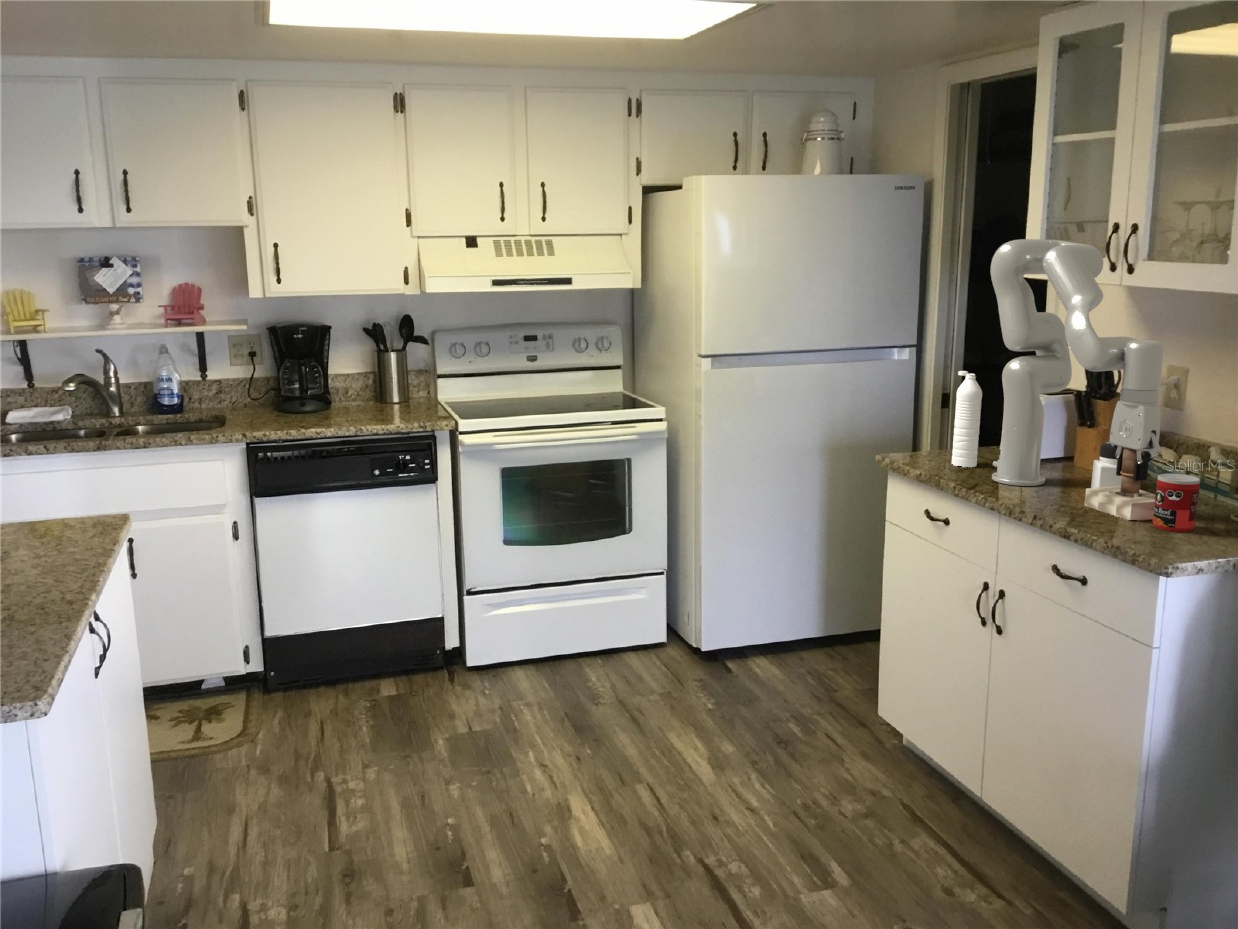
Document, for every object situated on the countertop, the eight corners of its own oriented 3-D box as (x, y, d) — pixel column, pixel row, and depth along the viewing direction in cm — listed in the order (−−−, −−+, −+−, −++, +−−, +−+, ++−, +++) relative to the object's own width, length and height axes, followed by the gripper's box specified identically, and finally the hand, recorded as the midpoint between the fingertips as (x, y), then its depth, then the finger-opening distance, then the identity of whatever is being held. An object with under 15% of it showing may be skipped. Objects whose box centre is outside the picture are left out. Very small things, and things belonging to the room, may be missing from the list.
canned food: (1144, 523, 222) (1150, 473, 220) (1180, 522, 223) (1186, 472, 221) (1165, 533, 215) (1171, 481, 213) (1202, 532, 216) (1208, 481, 213)
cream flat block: (1084, 505, 237) (1086, 488, 236) (1123, 502, 240) (1125, 485, 239) (1129, 521, 224) (1131, 503, 223) (1170, 517, 227) (1172, 499, 226)
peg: (1114, 490, 232) (1118, 446, 230) (1130, 488, 233) (1134, 445, 231) (1129, 494, 228) (1133, 450, 226) (1145, 493, 229) (1150, 449, 227)
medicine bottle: (1129, 496, 245) (1135, 447, 243) (1097, 494, 247) (1102, 445, 244) (1121, 489, 252) (1126, 441, 250) (1090, 487, 254) (1095, 440, 251)
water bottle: (981, 467, 276) (988, 374, 271) (958, 468, 275) (965, 375, 270) (965, 460, 284) (972, 370, 279) (943, 461, 283) (949, 371, 278)
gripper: (1097, 392, 233) (1090, 471, 237) (1155, 403, 217) (1146, 487, 221) (1124, 391, 235) (1117, 469, 239) (1183, 401, 219) (1174, 484, 223)
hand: (1131, 476), depth 230 cm, fingers closed on peg, 4 cm apart
